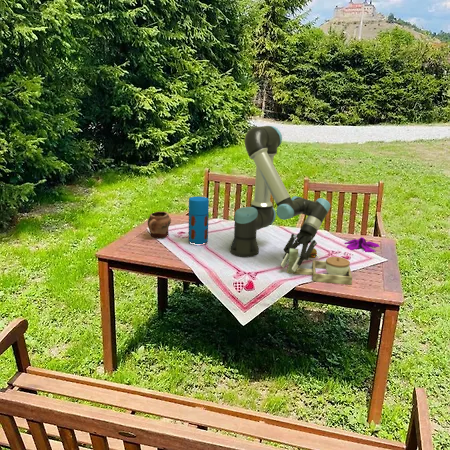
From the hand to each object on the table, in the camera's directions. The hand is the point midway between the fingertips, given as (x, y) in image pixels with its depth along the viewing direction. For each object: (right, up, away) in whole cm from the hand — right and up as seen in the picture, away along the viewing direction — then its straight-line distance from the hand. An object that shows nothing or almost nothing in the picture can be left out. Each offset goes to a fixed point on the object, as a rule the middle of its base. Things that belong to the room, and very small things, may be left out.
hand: (287, 268), depth 203 cm
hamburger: (+15, +3, +23) cm, 28 cm away
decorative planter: (-67, +13, +46) cm, 83 cm away
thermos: (-44, +10, +40) cm, 60 cm away
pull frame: (+14, -3, +2) cm, 15 cm away
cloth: (+46, +8, +42) cm, 63 cm away
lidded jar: (+23, -4, +1) cm, 23 cm away
